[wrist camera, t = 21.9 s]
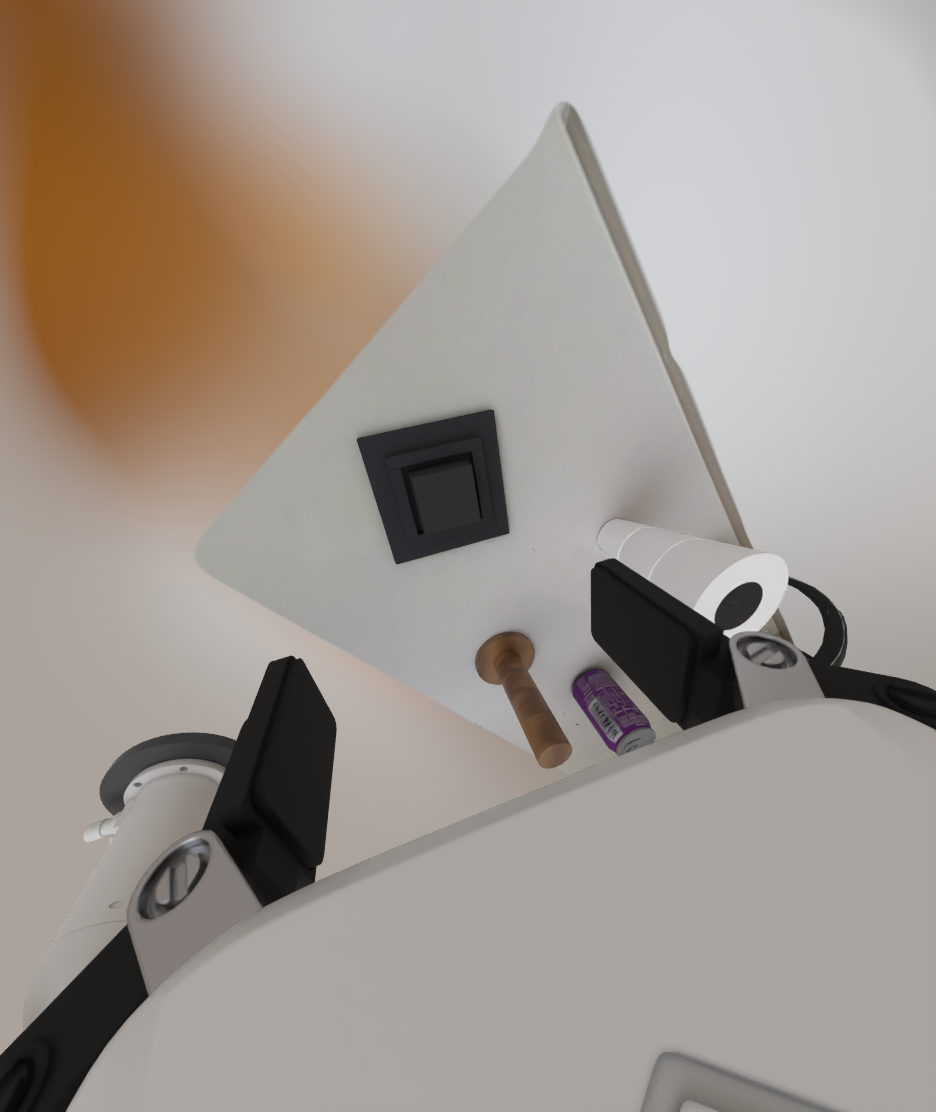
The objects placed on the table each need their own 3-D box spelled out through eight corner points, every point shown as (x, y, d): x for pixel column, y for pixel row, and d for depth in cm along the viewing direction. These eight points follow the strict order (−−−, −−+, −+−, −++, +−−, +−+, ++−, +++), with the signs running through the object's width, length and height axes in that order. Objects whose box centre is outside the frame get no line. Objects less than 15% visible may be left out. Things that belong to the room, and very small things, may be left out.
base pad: (395, 561, 40) (396, 569, 38) (356, 438, 33) (356, 440, 31) (506, 530, 42) (513, 537, 40) (490, 409, 35) (497, 410, 33)
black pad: (421, 524, 37) (425, 535, 34) (407, 471, 35) (411, 478, 32) (472, 511, 38) (481, 521, 35) (463, 458, 36) (471, 464, 33)
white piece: (576, 510, 43) (695, 574, 27) (649, 488, 45) (801, 537, 29) (579, 579, 48) (682, 668, 32) (645, 557, 49) (773, 632, 34)
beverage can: (573, 703, 59) (617, 769, 49) (566, 678, 56) (611, 742, 46) (609, 686, 60) (660, 747, 49) (603, 659, 57) (657, 719, 46)
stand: (480, 687, 52) (521, 794, 38) (470, 643, 48) (512, 745, 34) (534, 668, 53) (593, 765, 39) (529, 624, 49) (592, 714, 35)
